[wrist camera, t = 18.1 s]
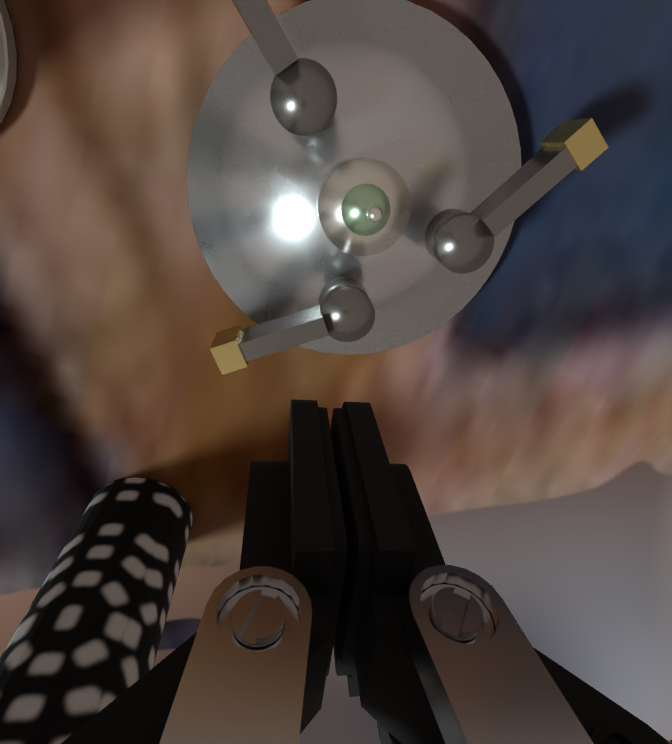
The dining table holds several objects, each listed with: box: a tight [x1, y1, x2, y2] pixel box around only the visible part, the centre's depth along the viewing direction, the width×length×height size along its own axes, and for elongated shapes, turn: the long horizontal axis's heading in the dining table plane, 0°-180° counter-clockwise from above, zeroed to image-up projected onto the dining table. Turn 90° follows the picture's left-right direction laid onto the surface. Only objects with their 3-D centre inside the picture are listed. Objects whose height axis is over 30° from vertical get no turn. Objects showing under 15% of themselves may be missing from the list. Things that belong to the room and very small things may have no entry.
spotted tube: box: [0, 478, 193, 744], centre depth 30 cm, size 8×8×20 cm
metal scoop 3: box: [425, 118, 608, 274], centre depth 26 cm, size 10×3×4 cm, turn 133°
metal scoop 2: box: [210, 277, 375, 375], centre depth 28 cm, size 10×3×4 cm, turn 107°
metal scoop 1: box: [232, 0, 337, 137], centre depth 22 cm, size 10×3×4 cm, turn 31°
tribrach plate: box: [187, 0, 521, 354], centre depth 26 cm, size 20×20×5 cm
